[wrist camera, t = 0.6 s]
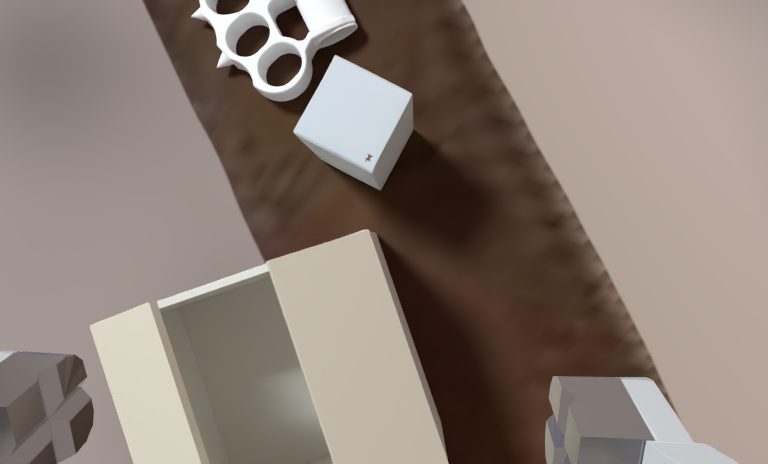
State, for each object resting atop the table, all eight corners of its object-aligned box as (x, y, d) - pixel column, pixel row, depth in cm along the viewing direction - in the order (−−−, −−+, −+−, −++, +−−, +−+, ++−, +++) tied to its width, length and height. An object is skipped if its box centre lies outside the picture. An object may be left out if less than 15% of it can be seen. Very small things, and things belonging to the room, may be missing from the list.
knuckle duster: (372, 59, 57) (247, 124, 57) (295, -93, 57) (172, -27, 58) (370, 47, 53) (236, 116, 54) (288, -114, 54) (157, -44, 55)
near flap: (451, 481, 41) (455, 483, 40) (358, 538, 37) (361, 541, 37) (365, 230, 42) (368, 229, 41) (265, 261, 38) (267, 260, 37)
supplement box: (415, 128, 56) (417, 94, 43) (380, 192, 56) (372, 177, 43) (351, 94, 56) (335, 51, 44) (317, 158, 56) (290, 133, 44)
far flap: (245, 575, 38) (239, 581, 37) (176, 571, 42) (169, 576, 41) (156, 299, 38) (148, 302, 38) (97, 323, 43) (89, 325, 42)
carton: (441, 422, 55) (451, 483, 41) (235, 490, 56) (177, 572, 42) (376, 233, 56) (364, 229, 42) (174, 302, 57) (96, 322, 43)
